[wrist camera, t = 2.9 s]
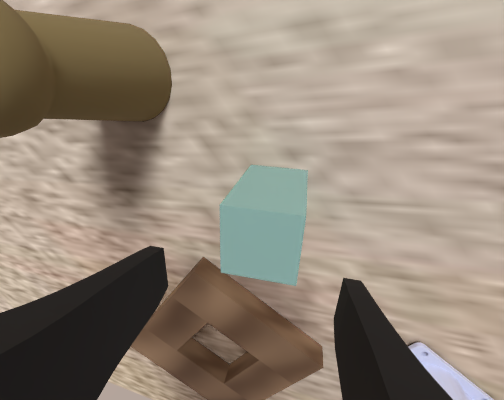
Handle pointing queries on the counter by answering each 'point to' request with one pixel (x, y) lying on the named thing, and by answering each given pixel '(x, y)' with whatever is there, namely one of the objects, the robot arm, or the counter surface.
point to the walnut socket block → (235, 328)
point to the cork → (77, 70)
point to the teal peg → (264, 224)
